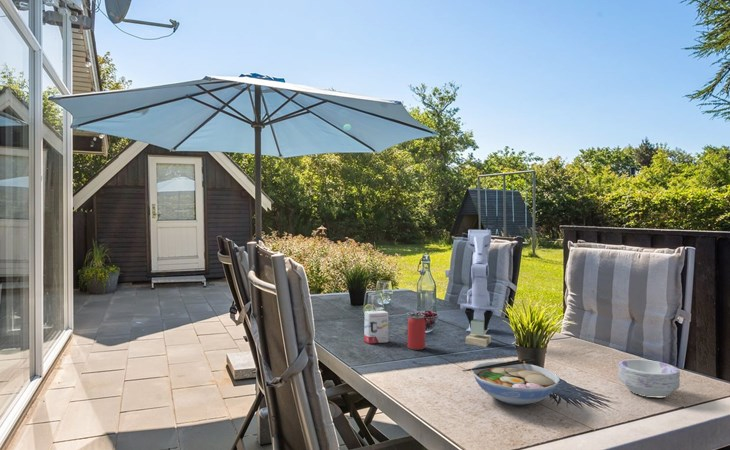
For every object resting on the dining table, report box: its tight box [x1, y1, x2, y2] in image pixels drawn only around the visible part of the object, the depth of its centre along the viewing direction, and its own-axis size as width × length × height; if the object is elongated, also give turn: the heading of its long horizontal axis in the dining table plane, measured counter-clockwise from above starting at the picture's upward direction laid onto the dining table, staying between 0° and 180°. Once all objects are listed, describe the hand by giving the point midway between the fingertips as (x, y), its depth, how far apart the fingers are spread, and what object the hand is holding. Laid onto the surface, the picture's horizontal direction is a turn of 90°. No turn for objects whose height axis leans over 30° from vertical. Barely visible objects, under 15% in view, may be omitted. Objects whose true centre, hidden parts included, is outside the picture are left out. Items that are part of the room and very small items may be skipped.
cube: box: [470, 319, 487, 335], centre depth 191 cm, size 5×5×5 cm
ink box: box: [363, 310, 389, 345], centre depth 190 cm, size 9×5×12 cm, turn 113°
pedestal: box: [464, 333, 492, 348], centre depth 191 cm, size 8×8×3 cm
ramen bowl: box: [461, 357, 561, 406], centre depth 132 cm, size 25×23×8 cm
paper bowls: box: [617, 358, 681, 397], centre depth 139 cm, size 15×15×8 cm
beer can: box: [407, 314, 427, 351], centre depth 182 cm, size 7×7×12 cm
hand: (478, 328), depth 191 cm, fingers closed on cube, 5 cm apart
